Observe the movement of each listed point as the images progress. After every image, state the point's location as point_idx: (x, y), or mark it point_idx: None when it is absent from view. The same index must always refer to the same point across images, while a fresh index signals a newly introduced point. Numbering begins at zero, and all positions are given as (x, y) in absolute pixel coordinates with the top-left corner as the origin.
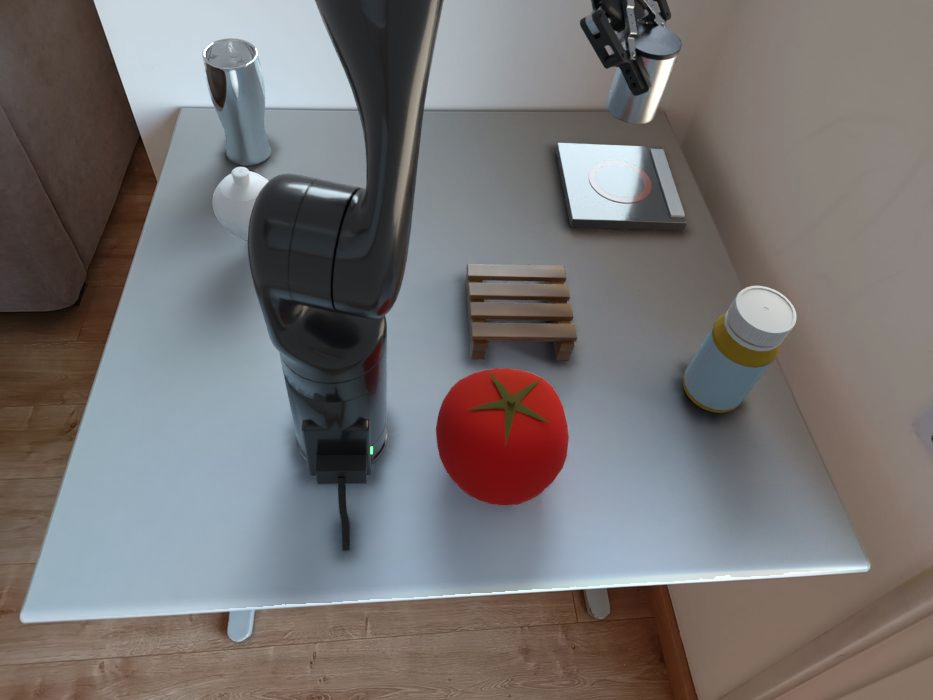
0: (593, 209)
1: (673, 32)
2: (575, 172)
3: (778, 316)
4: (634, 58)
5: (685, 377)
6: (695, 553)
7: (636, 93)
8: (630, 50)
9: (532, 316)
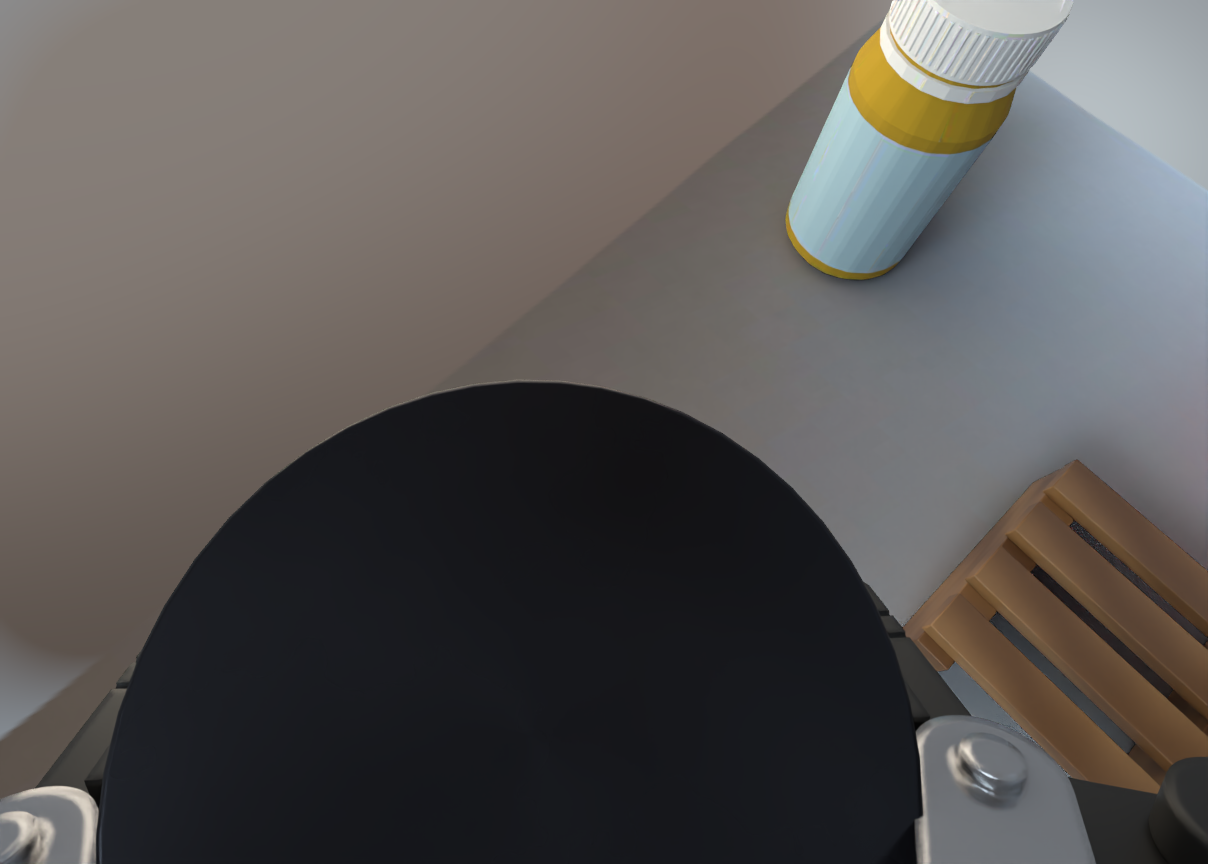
0: None
1: (173, 611)
2: None
3: None
4: (990, 726)
5: (894, 262)
6: (1112, 147)
7: None
8: (1076, 822)
9: (1133, 585)
